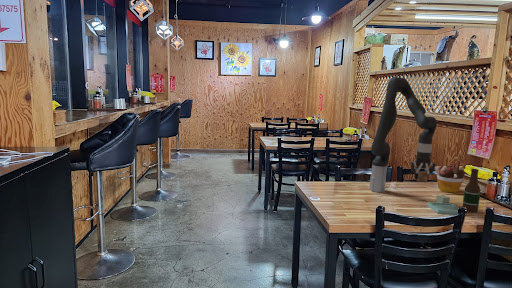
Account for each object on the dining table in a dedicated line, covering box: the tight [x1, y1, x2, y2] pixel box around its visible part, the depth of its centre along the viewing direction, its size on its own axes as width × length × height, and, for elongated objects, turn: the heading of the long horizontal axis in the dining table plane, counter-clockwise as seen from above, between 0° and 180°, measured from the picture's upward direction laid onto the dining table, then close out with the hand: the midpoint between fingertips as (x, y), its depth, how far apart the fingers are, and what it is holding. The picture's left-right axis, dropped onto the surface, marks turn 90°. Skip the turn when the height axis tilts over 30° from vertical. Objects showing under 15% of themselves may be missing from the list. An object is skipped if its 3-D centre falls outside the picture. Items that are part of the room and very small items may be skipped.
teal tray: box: [426, 201, 460, 215], centre depth 196 cm, size 14×14×2 cm
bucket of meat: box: [434, 160, 467, 194], centre depth 236 cm, size 20×16×20 cm
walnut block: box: [414, 170, 429, 183], centre depth 203 cm, size 5×5×5 cm
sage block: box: [435, 194, 451, 203], centre depth 206 cm, size 5×5×5 cm
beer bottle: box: [461, 168, 481, 214], centre depth 194 cm, size 8×8×24 cm
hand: (421, 179), depth 204 cm, fingers closed on walnut block, 5 cm apart
